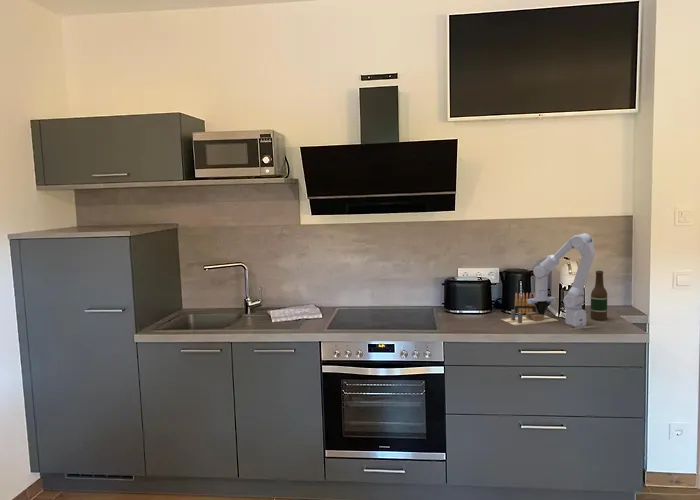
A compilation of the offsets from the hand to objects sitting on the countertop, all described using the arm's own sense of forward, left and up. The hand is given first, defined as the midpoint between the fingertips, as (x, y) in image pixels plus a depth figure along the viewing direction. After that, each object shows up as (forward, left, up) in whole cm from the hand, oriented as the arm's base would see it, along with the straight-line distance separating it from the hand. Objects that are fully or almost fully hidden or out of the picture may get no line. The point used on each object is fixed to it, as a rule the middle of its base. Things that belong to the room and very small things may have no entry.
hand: (541, 316), depth 291 cm
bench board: (0, +7, -2) cm, 7 cm away
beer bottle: (-8, -27, -2) cm, 28 cm away
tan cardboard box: (0, +4, -1) cm, 4 cm away
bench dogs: (0, +14, -2) cm, 14 cm away
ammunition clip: (+13, +1, -2) cm, 13 cm away
